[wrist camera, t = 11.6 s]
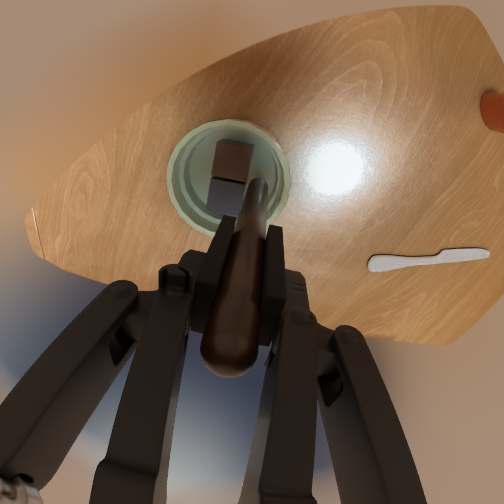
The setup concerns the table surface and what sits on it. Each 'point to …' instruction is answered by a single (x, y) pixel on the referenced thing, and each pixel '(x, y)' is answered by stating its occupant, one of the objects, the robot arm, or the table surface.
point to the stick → (239, 292)
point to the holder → (493, 110)
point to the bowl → (200, 167)
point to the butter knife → (425, 259)
